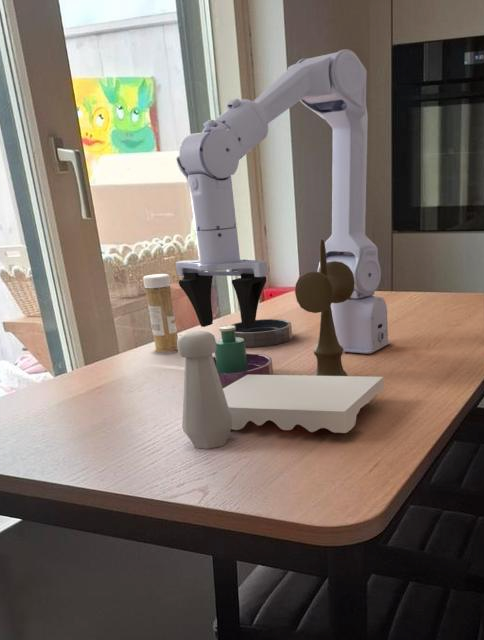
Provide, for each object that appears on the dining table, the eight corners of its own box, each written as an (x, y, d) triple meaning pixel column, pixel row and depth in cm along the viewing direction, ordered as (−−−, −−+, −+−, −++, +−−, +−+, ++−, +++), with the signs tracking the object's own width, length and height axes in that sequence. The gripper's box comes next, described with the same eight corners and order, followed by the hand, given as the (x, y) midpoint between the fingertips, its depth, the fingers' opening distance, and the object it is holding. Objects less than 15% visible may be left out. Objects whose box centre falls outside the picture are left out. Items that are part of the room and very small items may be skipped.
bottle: (253, 375, 107) (247, 323, 104) (241, 384, 103) (235, 330, 100) (225, 375, 109) (219, 323, 105) (213, 384, 104) (206, 330, 101)
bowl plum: (288, 375, 108) (287, 356, 107) (242, 397, 99) (240, 377, 97) (226, 369, 114) (224, 350, 112) (177, 389, 104) (174, 370, 103)
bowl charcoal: (304, 336, 132) (303, 320, 131) (268, 351, 123) (266, 334, 122) (252, 333, 138) (251, 317, 137) (214, 347, 129) (212, 330, 127)
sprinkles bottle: (184, 350, 127) (173, 274, 122) (160, 355, 125) (148, 277, 120) (174, 346, 131) (163, 272, 125) (151, 351, 129) (138, 275, 123)
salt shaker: (188, 436, 85) (172, 329, 80) (235, 432, 86) (222, 325, 80) (183, 453, 80) (165, 340, 75) (233, 449, 80) (219, 336, 75)
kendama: (359, 373, 106) (353, 235, 98) (338, 392, 98) (330, 242, 90) (322, 372, 108) (314, 236, 100) (299, 390, 100) (288, 243, 92)
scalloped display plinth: (196, 431, 87) (346, 439, 80) (192, 406, 86) (344, 411, 79) (250, 397, 100) (384, 401, 93) (247, 374, 99) (383, 376, 92)
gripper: (156, 232, 97) (171, 330, 103) (242, 230, 91) (253, 335, 96) (188, 227, 103) (200, 320, 108) (271, 225, 96) (280, 324, 102)
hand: (227, 326), depth 103 cm, fingers open, 7 cm apart
